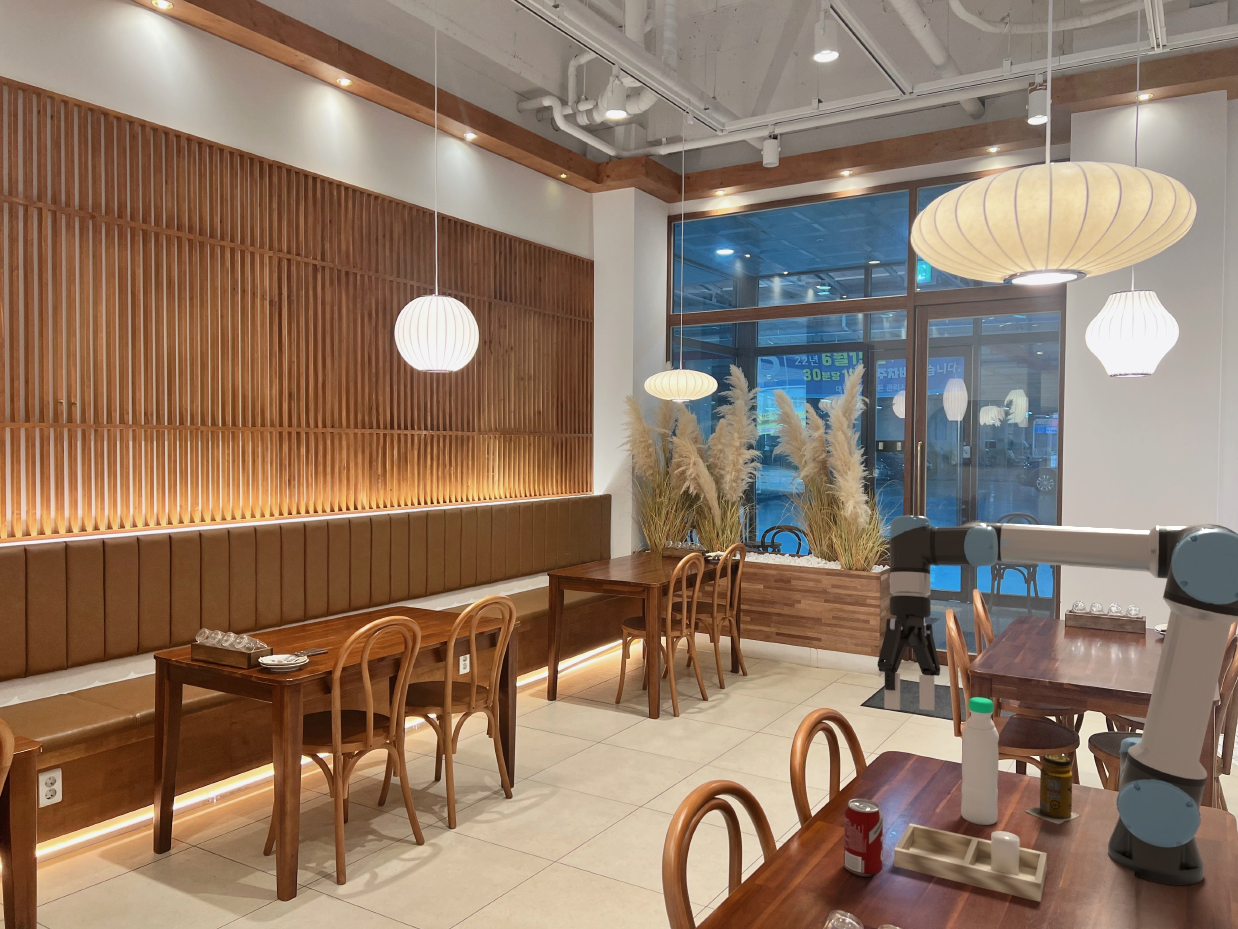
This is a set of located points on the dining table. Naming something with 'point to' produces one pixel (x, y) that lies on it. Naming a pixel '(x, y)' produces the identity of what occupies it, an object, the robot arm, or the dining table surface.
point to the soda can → (863, 837)
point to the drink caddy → (968, 861)
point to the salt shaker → (1005, 852)
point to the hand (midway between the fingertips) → (910, 709)
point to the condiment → (1055, 790)
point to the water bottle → (980, 764)
